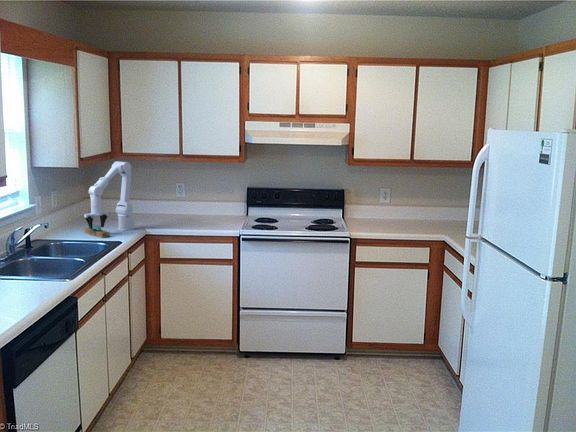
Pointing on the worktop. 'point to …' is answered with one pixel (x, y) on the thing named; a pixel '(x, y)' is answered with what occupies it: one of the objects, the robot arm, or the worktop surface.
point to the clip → (96, 227)
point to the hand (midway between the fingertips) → (96, 227)
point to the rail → (97, 233)
